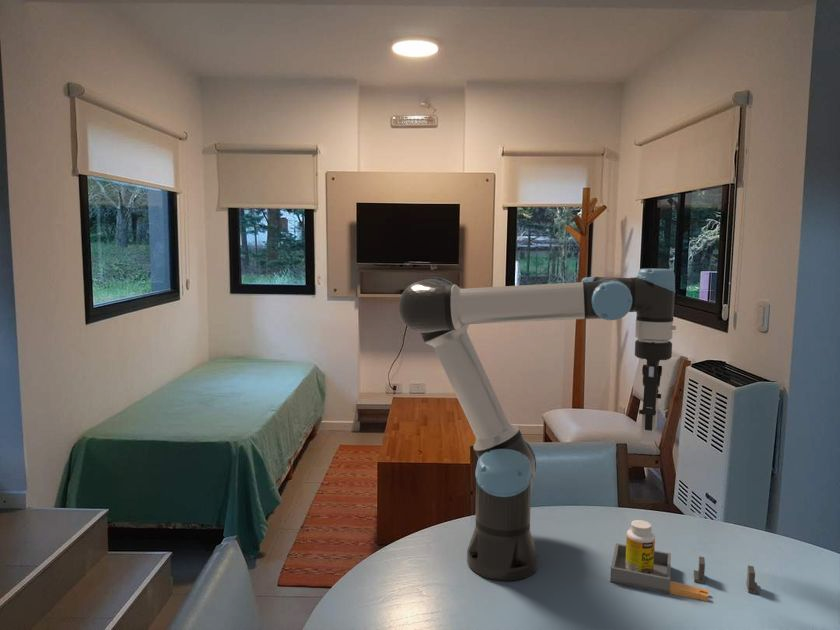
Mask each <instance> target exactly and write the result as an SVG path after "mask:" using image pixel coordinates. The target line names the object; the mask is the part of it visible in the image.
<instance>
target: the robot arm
mask: <svg viewBox="0 0 840 630" xmlns="http://www.w3.org/2000/svg"><path fill="white" fill-rule="evenodd" d="M637 273H638V274H637V275H636V277H611V276H593V277H592V276H588V277H587V276H586V277H583V278H582V279H581V281H580V282H578V281H577V282H563V283H562V282H561V283H558V282H557V283H541V284H526V285H524V284H523V285H509V286H508V285H504V286H490V287H489V286H488V287H487V286H486V287H471V288H461V287H459V286H458V285H457V284H454V283H452V282H451V281H449V280H447V279H445V278H442V277H429V278H427V279H423V280H418V281H415V282H413V283H412V284H410V285H408V286H407V287H406V288H405V289H404V290H403V292H402V293H401V296H400V298H399V301H398V302H399V303H398V313H399V315H400V318H401V320H402V322H403V323H404V325H406V327H408V328H409V329H411V330H412V331H414V332H417V333H419V334H420V335H421V338H422V340H423V343H424V344H427V345H428V346H431V347H433V348H434V351H435V352H436V355H437V357H438V359H439V361H440V364H441V366H442V368H443V369H444V372H445V374H446V376H447V378H448V381H449V383H450V385H451V387H452V389H453V391H454V393H455V395H456V398H457V400H458V402H459V405H460V406H461V409H462V411H463V413H464V415H465V417H466V419H467V421H468V424H469V426H470V428H471V431H472V432H473V435H474V436H475V443H474V445H473V450H474V453H475V454H476V456H477V458H478V459H477V463H476V468H475V471H474V472H475V473H474V474H475V527H474V530H473V533H472V535H471V539H470V541H469V543H468V546H467V549H466V563H467V565H468V567H469V569H471V571H473V572H474V573H476V574H477V575H479V576H481V577H483V578H487V579H489V580H494V581H502V582H503V581H504V582H509V581H511V582H513V581H519V580H522V579H526V578H528V577H530V576H531V575H533V574H534V573H535V572H536V571H537V569H538V552H537V547H536V546H535V545H536V544H535V542H534V539H533V536H532V532H531V506H532V505H531V503H532V502H531V500H532V490H533V483H534V478H535V473H536V470H537V460H536V459H537V458H536V455H535V452H534V450H533V448H532V446H531V445H530V444H529V442H528V441H527V440H525V439H524V437H523V434H522V433H521V430H520V428H519V427H518V426H516V425H513V424H511V423H510V421H509V420H508V417H507V415H506V413H505V412H504V409H503V407H502V405H501V402H500V400H499V399H498V397H497V394H496V392H495V390H494V387H493V386H492V384H491V381H490V379H489V376H488V374H487V373H486V371H485V370H486V369H485V368H484V366H483V364H482V361H481V360H480V357H479V356H478V353H477V351H476V348H475V347H474V344H473V342H472V340H471V339H470V335H469V333H468V329H469V325H483V324H503V323H504V324H505V323H506V324H507V323H524V322H525V323H527V322H528V323H529V322H543V321H544V322H546V321H566V320H569V321H570V320H595V319H596V320H600V319H602V320H606V321H616V320H617V321H618V320H620V319H622V318H624V317H625V316H626V315H628V314H629V313H636V319H635V332H634V333H635V336H634V337H635V338H637V339H636V340H635V341H634V356H635V357H636V358H638V359H642V360H646V364H643V365H642V373H641V374H642V386H643V387H644V388H643V398H642V399H643V400H642V409H638V414H639V415H641V432H640V434H641V435H640V437H641V438H640V444H641V445H648V446H655V445H656V429H657V428H658V427H657V426H658V410H659V409H658V408H659V399H662V393H659V392H660V391H659V388H660V383H661V377H662V374H663V366H662V365H660V362H661V361H668V360H670V359H671V358H672V357H673V355H672V353H673V342H672V341H671V340H672V339H673V333H674V332H673V331H676V329H677V326H676V325H673V324H674V312H675V297H676V275H675V272H674V271H673V270H672V269H670V268H640V269H639V270H638V272H637Z"/></svg>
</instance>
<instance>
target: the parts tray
mask: <svg viewBox="0 0 840 630" xmlns="http://www.w3.org/2000/svg"><path fill="white" fill-rule="evenodd" d="M671 560H672V553H671V552H665V551H660V550H655V549H654V567H653V573H652V574H647V573H642V572H637V571H632V570H627V569H626V566H625V562H626V544H622V543H615V547H614V551H613V556H612V561H611V567H610V577H609V578H610V580H609V581H610V583H615V584H620V585H623V586H629V587H632V588H633V587H634V588H639V589H643V590H648V591H652V592H653V591H654V592H659V593H663V594H666V595H667V594H668V595H670V594H671V593H670V581H671V570H672V569H671V567H672V566H671V565H672V563H671V562H672V561H671Z"/></svg>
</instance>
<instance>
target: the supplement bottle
mask: <svg viewBox="0 0 840 630" xmlns="http://www.w3.org/2000/svg"><path fill="white" fill-rule="evenodd" d="M630 524H631V525H630V528H629V529H628V530H627V532H626V540H625V541H626V542H625V543H626V544H625V545H626V562H625V566H626V569H627V570H632V571H637V572H642V573H647V574H652V573H653V567H654V550H655V543H656V536H655V534H654V533H653V532H652V531H653V530H652V524H651V523H650V522H648V521H646V520H641V519H636V520H635V519H634V520H632V521H631V523H630Z"/></svg>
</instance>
